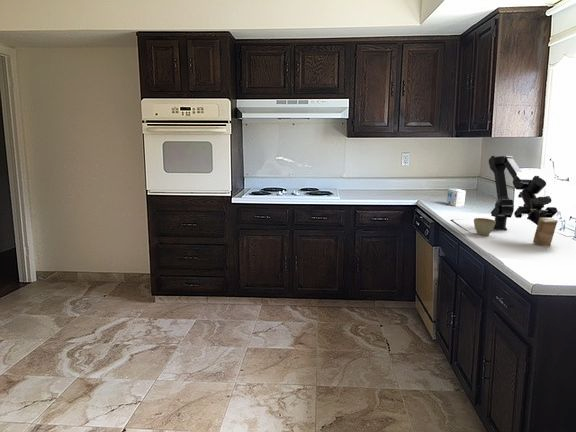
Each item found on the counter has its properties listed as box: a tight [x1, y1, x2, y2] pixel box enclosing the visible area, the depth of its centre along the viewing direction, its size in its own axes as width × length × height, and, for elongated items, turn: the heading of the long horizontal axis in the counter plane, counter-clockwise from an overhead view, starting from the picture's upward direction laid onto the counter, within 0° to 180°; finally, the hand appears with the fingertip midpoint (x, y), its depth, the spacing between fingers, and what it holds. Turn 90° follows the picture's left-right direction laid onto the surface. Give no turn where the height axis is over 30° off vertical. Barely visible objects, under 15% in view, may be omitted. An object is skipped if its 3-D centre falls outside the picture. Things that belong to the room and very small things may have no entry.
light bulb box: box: [446, 188, 467, 207], centre depth 319 cm, size 11×7×11 cm, turn 17°
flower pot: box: [473, 217, 496, 236], centre depth 232 cm, size 10×10×7 cm
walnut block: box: [532, 217, 558, 247], centre depth 215 cm, size 4×6×12 cm, turn 98°
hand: (542, 227), depth 216 cm, fingers closed
